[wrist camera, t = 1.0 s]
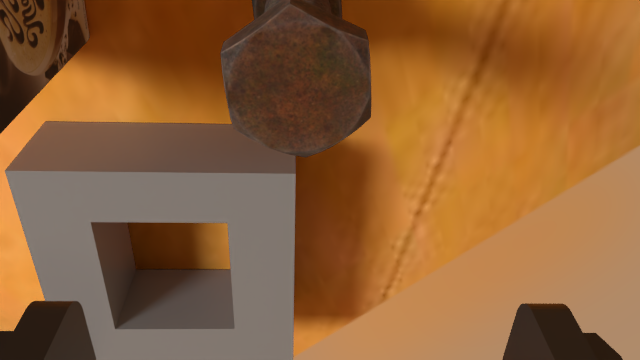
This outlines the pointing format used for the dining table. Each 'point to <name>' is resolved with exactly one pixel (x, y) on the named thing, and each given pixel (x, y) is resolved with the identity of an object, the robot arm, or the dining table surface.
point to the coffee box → (35, 48)
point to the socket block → (162, 207)
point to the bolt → (297, 76)
